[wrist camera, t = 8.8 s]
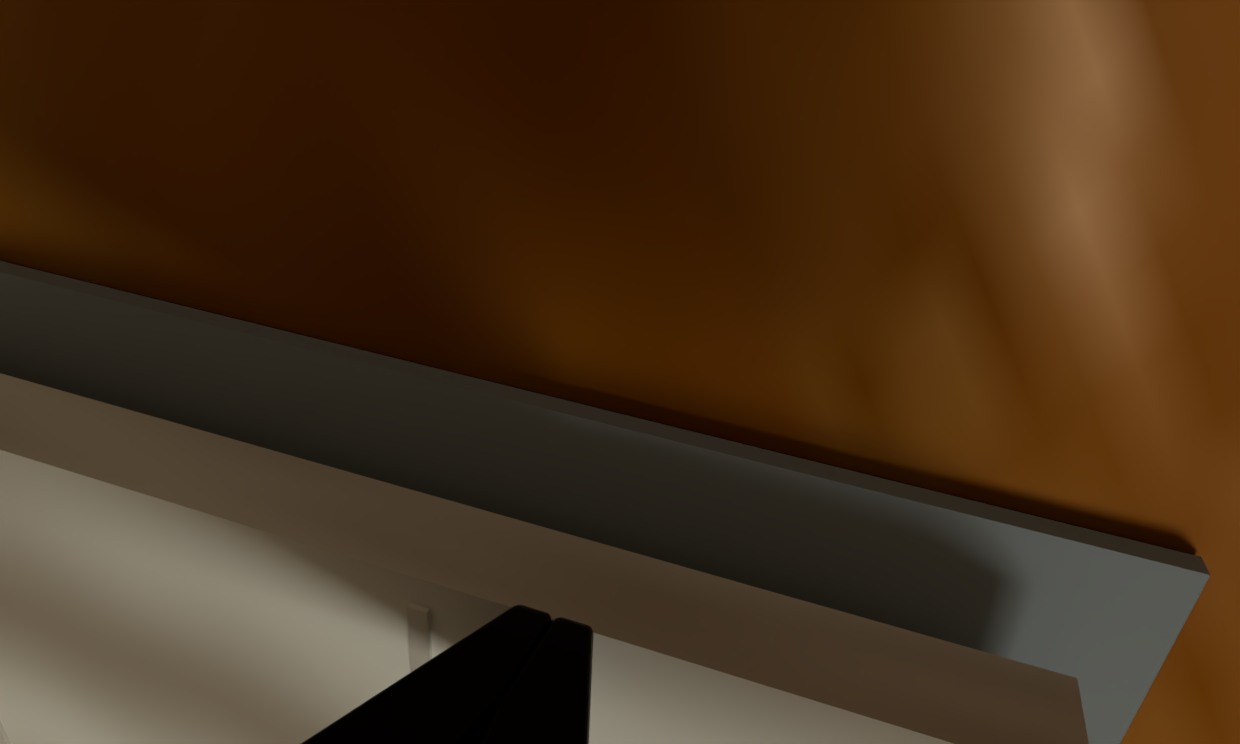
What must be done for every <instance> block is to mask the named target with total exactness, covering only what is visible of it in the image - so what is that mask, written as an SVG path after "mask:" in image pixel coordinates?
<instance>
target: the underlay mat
mask: <svg viewBox="0 0 1240 744" xmlns="http://www.w3.org/2000/svg"><path fill="white" fill-rule="evenodd" d="M0 373H1V374H5V375H8V376H12V377H15V378H19V379H22V380H26V381H30V382H33V383H37V384H40V385H44V386H47V387H51V388H54V389H58V390H61V391H65V392H68V393H72V394H75V395H79V396H82V397H86V398H90V399H93V400H97V401H100V402H104V403H107V404H111V405H114V406H118V407H121V408H125V409H128V410H132V411H135V412H139V413H143V414H146V415H150V416H153V417H157V418H160V419H164V420H167V421H171V422H174V423H178V424H181V425H185V426H188V427H192V428H196V429H199V430H203V431H206V432H210V433H213V434H217V435H220V436H224V437H227V438H231V439H234V440H238V441H241V442H245V443H248V444H252V445H256V446H259V447H263V448H266V449H270V450H273V451H277V452H280V453H284V454H287V455H291V456H294V457H298V458H301V459H305V460H309V461H312V462H316V463H319V464H323V465H326V466H330V467H333V468H337V469H340V470H344V471H347V472H351V473H354V474H358V475H362V476H365V477H369V478H372V479H376V480H379V481H383V482H386V483H390V484H393V485H397V486H400V487H404V488H407V489H411V490H414V491H418V492H422V493H425V494H429V495H432V496H436V497H439V498H443V499H446V500H450V501H453V502H457V503H460V504H464V505H467V506H471V507H475V508H478V509H482V510H485V511H489V512H492V513H496V514H499V515H503V516H506V517H510V518H513V519H517V520H520V521H524V522H527V523H531V524H535V525H538V526H542V527H545V528H549V529H552V530H556V531H559V532H563V533H566V534H570V535H573V536H577V537H580V538H584V539H588V540H591V541H595V542H598V543H602V544H605V545H609V546H612V547H616V548H619V549H623V550H626V551H630V552H633V553H637V554H641V555H644V556H648V557H651V558H655V559H658V560H662V561H665V562H669V563H672V564H676V565H679V566H683V567H686V568H690V569H693V570H697V571H701V572H704V573H708V574H711V575H715V576H718V577H722V578H725V579H729V580H732V581H736V582H739V583H743V584H746V585H750V586H754V587H757V588H761V589H764V590H768V591H771V592H775V593H778V594H782V595H785V596H789V597H792V598H796V599H799V600H803V601H806V602H810V603H814V604H817V605H821V606H824V607H828V608H831V609H835V610H838V611H842V612H845V613H849V614H852V615H856V616H859V617H863V618H867V619H870V620H874V621H877V622H881V623H884V624H888V625H891V626H895V627H898V628H902V629H905V630H909V631H912V632H916V633H919V634H923V635H927V636H930V637H934V638H937V639H941V640H944V641H948V642H951V643H955V644H958V645H962V646H965V647H969V648H972V649H976V650H980V651H983V652H987V653H990V654H994V655H997V656H1001V657H1004V658H1008V659H1011V660H1015V661H1018V662H1022V663H1025V664H1029V665H1033V666H1036V667H1040V668H1043V669H1047V670H1050V671H1054V672H1057V673H1061V674H1064V675H1068V676H1071V677H1075V678H1077V680H1078V685H1079V691H1080V696H1081V702H1082V708H1083V713H1084V719H1085V725H1086V730H1087V736H1088V742H1089V744H1120V743H1121V741H1122V739H1123V737H1124V735H1125V733H1126V731H1127V729H1128V728H1129V726H1130V724H1131V722H1132V720H1133V718H1134V716H1135V715H1136V713H1137V711H1138V709H1139V707H1140V705H1141V703H1142V702H1143V700H1144V698H1145V696H1146V694H1147V692H1148V690H1149V688H1150V687H1151V685H1152V683H1153V681H1154V679H1155V677H1156V675H1157V674H1158V672H1159V670H1160V668H1161V666H1162V664H1163V662H1164V660H1165V659H1166V657H1167V655H1168V653H1169V651H1170V649H1171V647H1172V646H1173V644H1174V642H1175V640H1176V638H1177V636H1178V634H1179V633H1180V631H1181V629H1182V627H1183V625H1184V623H1185V621H1186V619H1187V618H1188V616H1189V614H1190V612H1191V610H1192V608H1193V606H1194V605H1195V603H1196V601H1197V599H1198V597H1199V595H1200V593H1201V592H1202V590H1203V588H1204V586H1205V584H1206V582H1207V580H1208V578H1209V577H1210V574H1209V572H1208V570H1207V568H1206V566H1205V564H1204V562H1203V560H1202V558H1201V557H1200V556H1196V555H1191V554H1187V553H1183V552H1179V551H1175V550H1171V549H1167V548H1163V547H1159V546H1155V545H1151V544H1147V543H1143V542H1139V541H1135V540H1131V539H1127V538H1123V537H1118V536H1114V535H1110V534H1106V533H1102V532H1098V531H1094V530H1090V529H1086V528H1082V527H1078V526H1074V525H1070V524H1066V523H1062V522H1058V521H1054V520H1050V519H1045V518H1041V517H1037V516H1033V515H1029V514H1025V513H1021V512H1017V511H1013V510H1009V509H1005V508H1001V507H997V506H993V505H989V504H985V503H981V502H977V501H972V500H968V499H964V498H960V497H956V496H952V495H948V494H944V493H940V492H936V491H932V490H928V489H924V488H920V487H916V486H912V485H908V484H904V483H900V482H895V481H891V480H887V479H883V478H879V477H875V476H871V475H867V474H863V473H859V472H855V471H851V470H847V469H843V468H839V467H835V466H831V465H827V464H822V463H818V462H814V461H810V460H806V459H802V458H798V457H794V456H790V455H786V454H782V453H778V452H774V451H770V450H766V449H762V448H758V447H754V446H749V445H745V444H741V443H737V442H733V441H729V440H725V439H721V438H717V437H713V436H709V435H705V434H701V433H697V432H693V431H689V430H685V429H681V428H676V427H672V426H668V425H664V424H660V423H656V422H652V421H648V420H644V419H640V418H636V417H632V416H628V415H624V414H620V413H616V412H612V411H608V410H603V409H599V408H595V407H591V406H587V405H583V404H579V403H575V402H571V401H567V400H563V399H559V398H555V397H551V396H547V395H543V394H539V393H535V392H530V391H526V390H522V389H518V388H514V387H510V386H506V385H502V384H498V383H494V382H490V381H486V380H482V379H478V378H474V377H470V376H466V375H462V374H457V373H453V372H449V371H445V370H441V369H437V368H433V367H429V366H425V365H421V364H417V363H413V362H409V361H405V360H401V359H397V358H393V357H389V356H384V355H380V354H376V353H372V352H368V351H364V350H360V349H356V348H352V347H348V346H344V345H340V344H336V343H332V342H328V341H324V340H320V339H316V338H312V337H307V336H303V335H299V334H295V333H291V332H287V331H283V330H279V329H275V328H271V327H267V326H263V325H259V324H255V323H251V322H247V321H243V320H239V319H234V318H230V317H226V316H222V315H218V314H214V313H210V312H206V311H202V310H198V309H194V308H190V307H186V306H182V305H178V304H174V303H170V302H166V301H161V300H157V299H153V298H149V297H145V296H141V295H137V294H133V293H129V292H125V291H121V290H117V289H113V288H109V287H105V286H101V285H97V284H93V283H88V282H84V281H80V280H76V279H72V278H68V277H64V276H60V275H56V274H52V273H48V272H44V271H40V270H36V269H32V268H28V267H24V266H20V265H15V264H11V263H7V262H3V261H0Z"/></svg>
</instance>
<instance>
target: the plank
mask: <svg viewBox="0 0 1240 744" xmlns="http://www.w3.org/2000/svg"><path fill="white" fill-rule="evenodd" d="M516 605H524V606H528V607H531V608H534V609H537V610H540V611H544V612H547V613H548V614H550V616H551V620H552V621H553V620H554V619H555V618H558V617H563V618H566V619H570V620H573V621H576V622H580V623H583V624H586V625H589V626H590V627H591V628H592V630H593V659H592V682H591V706H590V729H589V744H1089V742H1088V736H1087V730H1086V725H1085V719H1084V713H1083V708H1082V702H1081V696H1080V691H1079V685H1078V680H1077V678H1075V677H1071V676H1068V675H1064V674H1061V673H1057V672H1054V671H1050V670H1047V669H1043V668H1040V667H1036V666H1033V665H1029V664H1025V663H1022V662H1018V661H1015V660H1011V659H1008V658H1004V657H1001V656H997V655H994V654H990V653H987V652H983V651H980V650H976V649H972V648H969V647H965V646H962V645H958V644H955V643H951V642H948V641H944V640H941V639H937V638H934V637H930V636H927V635H923V634H919V633H916V632H912V631H909V630H905V629H902V628H898V627H895V626H891V625H888V624H884V623H881V622H877V621H874V620H870V619H867V618H863V617H859V616H856V615H852V614H849V613H845V612H842V611H838V610H835V609H831V608H828V607H824V606H821V605H817V604H814V603H810V602H806V601H803V600H799V599H796V598H792V597H789V596H785V595H782V594H778V593H775V592H771V591H768V590H764V589H761V588H757V587H754V586H750V585H746V584H743V583H739V582H736V581H732V580H729V579H725V578H722V577H718V576H715V575H711V574H708V573H704V572H701V571H697V570H693V569H690V568H686V567H683V566H679V565H676V564H672V563H669V562H665V561H662V560H658V559H655V558H651V557H648V556H644V555H641V554H637V553H633V552H630V551H626V550H623V549H619V548H616V547H612V546H609V545H605V544H602V543H598V542H595V541H591V540H588V539H584V538H580V537H577V536H573V535H570V534H566V533H563V532H559V531H556V530H552V529H549V528H545V527H542V526H538V525H535V524H531V523H527V522H524V521H520V520H517V519H513V518H510V517H506V516H503V515H499V514H496V513H492V512H489V511H485V510H482V509H478V508H475V507H471V506H467V505H464V504H460V503H457V502H453V501H450V500H446V499H443V498H439V497H436V496H432V495H429V494H425V493H422V492H418V491H414V490H411V489H407V488H404V487H400V486H397V485H393V484H390V483H386V482H383V481H379V480H376V479H372V478H369V477H365V476H362V475H358V474H354V473H351V472H347V471H344V470H340V469H337V468H333V467H330V466H326V465H323V464H319V463H316V462H312V461H309V460H305V459H301V458H298V457H294V456H291V455H287V454H284V453H280V452H277V451H273V450H270V449H266V448H263V447H259V446H256V445H252V444H248V443H245V442H241V441H238V440H234V439H231V438H227V437H224V436H220V435H217V434H213V433H210V432H206V431H203V430H199V429H196V428H192V427H188V426H185V425H181V424H178V423H174V422H171V421H167V420H164V419H160V418H157V417H153V416H150V415H146V414H143V413H139V412H135V411H132V410H128V409H125V408H121V407H118V406H114V405H111V404H107V403H104V402H100V401H97V400H93V399H90V398H86V397H82V396H79V395H75V394H72V393H68V392H65V391H61V390H58V389H54V388H51V387H47V386H44V385H40V384H37V383H33V382H30V381H26V380H22V379H19V378H15V377H12V376H8V375H5V374H1V373H0V744H301V743H302V742H304V741H305V740H307V739H308V738H310V737H312V736H313V735H315V734H316V733H318V732H319V731H321V730H322V729H324V728H325V727H327V726H329V725H330V724H332V723H333V722H335V721H336V720H338V719H339V718H341V717H343V716H344V715H346V714H347V713H349V712H350V711H352V710H353V709H355V708H356V707H358V706H360V705H361V704H363V703H364V702H366V701H367V700H369V699H370V698H372V697H373V696H375V695H377V694H378V693H380V692H381V691H383V690H384V689H386V688H387V687H389V686H390V685H392V684H394V683H395V682H397V681H398V680H400V679H401V678H403V677H404V676H406V675H408V674H409V673H411V672H412V671H414V670H415V669H417V668H418V667H420V666H421V665H423V664H425V663H426V662H428V661H429V660H431V659H432V658H434V657H435V656H437V655H438V654H440V653H442V652H443V651H445V650H446V649H448V648H449V647H451V646H452V645H454V644H455V643H457V642H459V641H460V640H462V639H463V638H465V637H466V636H468V635H469V634H471V633H473V632H474V631H476V630H477V629H479V628H480V627H482V626H483V625H485V624H486V623H488V622H490V621H491V620H493V619H494V618H496V617H497V616H499V615H500V614H502V613H503V612H505V611H507V610H508V609H510V608H511V607H513V606H516Z"/></svg>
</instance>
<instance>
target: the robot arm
mask: <svg viewBox="0 0 1240 744" xmlns="http://www.w3.org/2000/svg"><path fill="white" fill-rule="evenodd" d="M592 659H593V630H592V628H591V627H590V626H589V625H586V624H583V623H580V622H576V621H573V620H570V619H566V618H563V617H558V618H555V619H554V620H553V621H552V620H551V616H550V614H548V613H547V612H544V611H540V610H537V609H534V608H531V607H528V606H524V605H516V606H513V607H511V608H510V609H508V610H507V611H505V612H503V613H502V614H500V615H499V616H497V617H496V618H494V619H493V620H491V621H490V622H488V623H486V624H485V625H483V626H482V627H480V628H479V629H477V630H476V631H474V632H473V633H471V634H469V635H468V636H466V637H465V638H463V639H462V640H460V641H459V642H457V643H455V644H454V645H452V646H451V647H449V648H448V649H446V650H445V651H443V652H442V653H440V654H438V655H437V656H435V657H434V658H432V659H431V660H429V661H428V662H426V663H425V664H423V665H421V666H420V667H418V668H417V669H415V670H414V671H412V672H411V673H409V674H408V675H406V676H404V677H403V678H401V679H400V680H398V681H397V682H395V683H394V684H392V685H390V686H389V687H387V688H386V689H384V690H383V691H381V692H380V693H378V694H377V695H375V696H373V697H372V698H370V699H369V700H367V701H366V702H364V703H363V704H361V705H360V706H358V707H356V708H355V709H353V710H352V711H350V712H349V713H347V714H346V715H344V716H343V717H341V718H339V719H338V720H336V721H335V722H333V723H332V724H330V725H329V726H327V727H325V728H324V729H322V730H321V731H319V732H318V733H316V734H315V735H313V736H312V737H310V738H308V739H307V740H305V741H304V742H302V743H301V744H589V729H590V706H591V682H592Z"/></svg>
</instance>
